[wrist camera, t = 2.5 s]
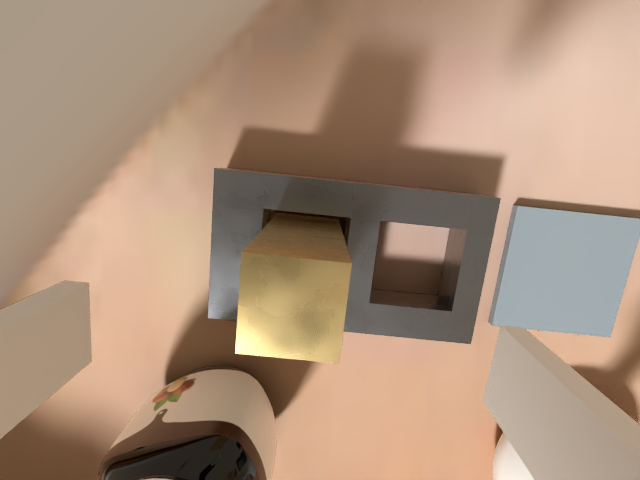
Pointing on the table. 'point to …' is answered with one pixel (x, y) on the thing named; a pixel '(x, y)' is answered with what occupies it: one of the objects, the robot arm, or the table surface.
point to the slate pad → (564, 270)
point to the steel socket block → (360, 246)
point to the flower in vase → (508, 462)
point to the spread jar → (198, 431)
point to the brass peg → (294, 290)
